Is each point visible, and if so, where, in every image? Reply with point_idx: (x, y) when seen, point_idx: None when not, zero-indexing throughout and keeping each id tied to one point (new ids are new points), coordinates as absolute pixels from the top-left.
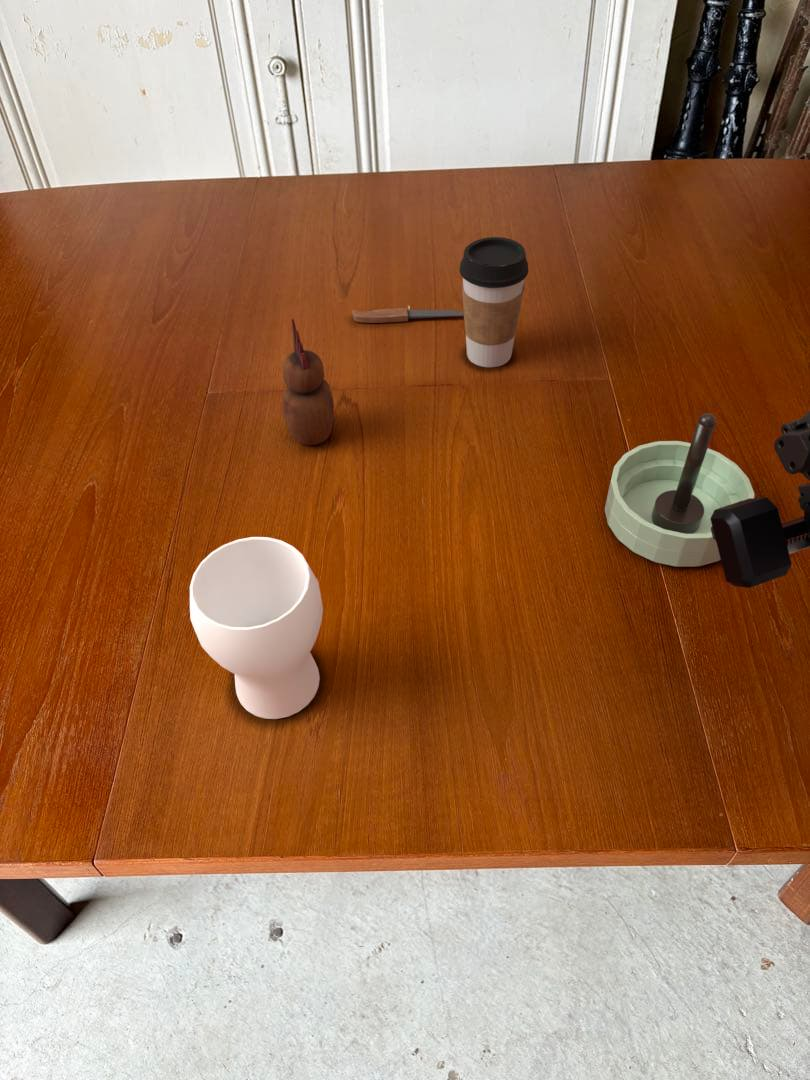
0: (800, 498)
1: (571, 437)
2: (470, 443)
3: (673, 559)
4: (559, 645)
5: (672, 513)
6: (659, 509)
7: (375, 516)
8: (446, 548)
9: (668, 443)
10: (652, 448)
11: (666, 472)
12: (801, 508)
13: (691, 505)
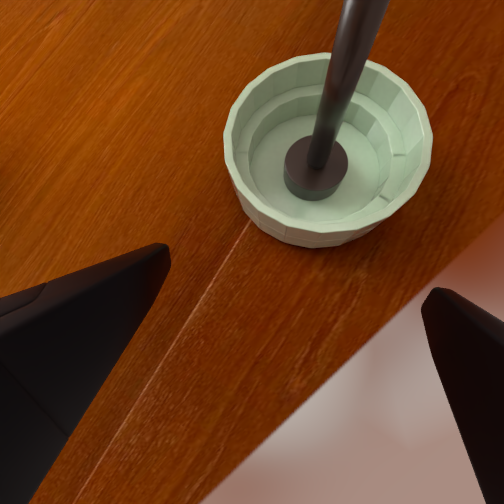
0: (438, 293)
1: (298, 32)
2: (202, 2)
3: (256, 221)
4: (92, 246)
5: (299, 166)
6: (290, 153)
7: (69, 44)
8: (92, 101)
9: (366, 64)
10: None
11: (348, 112)
12: (422, 309)
13: (331, 167)
